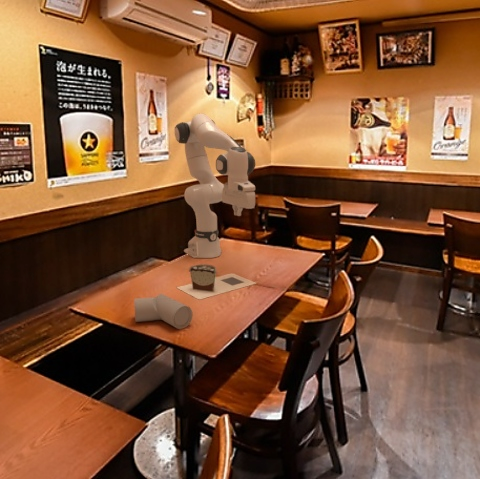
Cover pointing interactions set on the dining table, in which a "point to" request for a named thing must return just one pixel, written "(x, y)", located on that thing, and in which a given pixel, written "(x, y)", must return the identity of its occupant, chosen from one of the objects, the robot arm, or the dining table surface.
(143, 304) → the l-shaped cylinder
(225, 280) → the board
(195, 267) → the food container
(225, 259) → the dining table surface
